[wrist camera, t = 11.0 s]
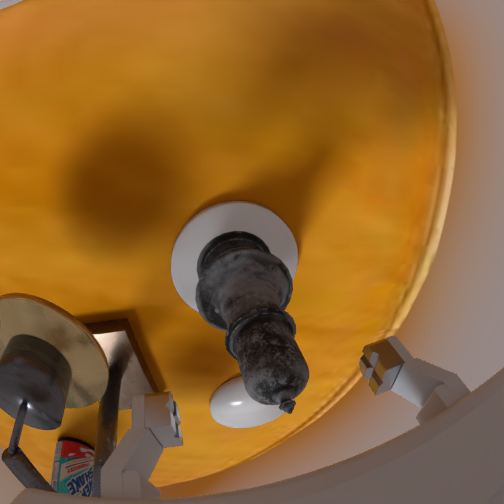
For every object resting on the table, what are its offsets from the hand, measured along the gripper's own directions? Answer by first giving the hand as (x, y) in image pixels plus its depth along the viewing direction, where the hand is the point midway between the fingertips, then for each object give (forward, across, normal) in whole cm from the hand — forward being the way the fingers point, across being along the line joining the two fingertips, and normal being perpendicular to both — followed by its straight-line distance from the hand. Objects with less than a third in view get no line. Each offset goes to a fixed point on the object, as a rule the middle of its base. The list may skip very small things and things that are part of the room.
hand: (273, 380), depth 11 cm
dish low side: (+12, 0, +1) cm, 12 cm away
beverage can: (+11, +24, +26) cm, 37 cm away
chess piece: (+11, 0, +1) cm, 11 cm away
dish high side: (+11, -1, +18) cm, 21 cm away
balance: (+11, +12, +10) cm, 19 cm away
